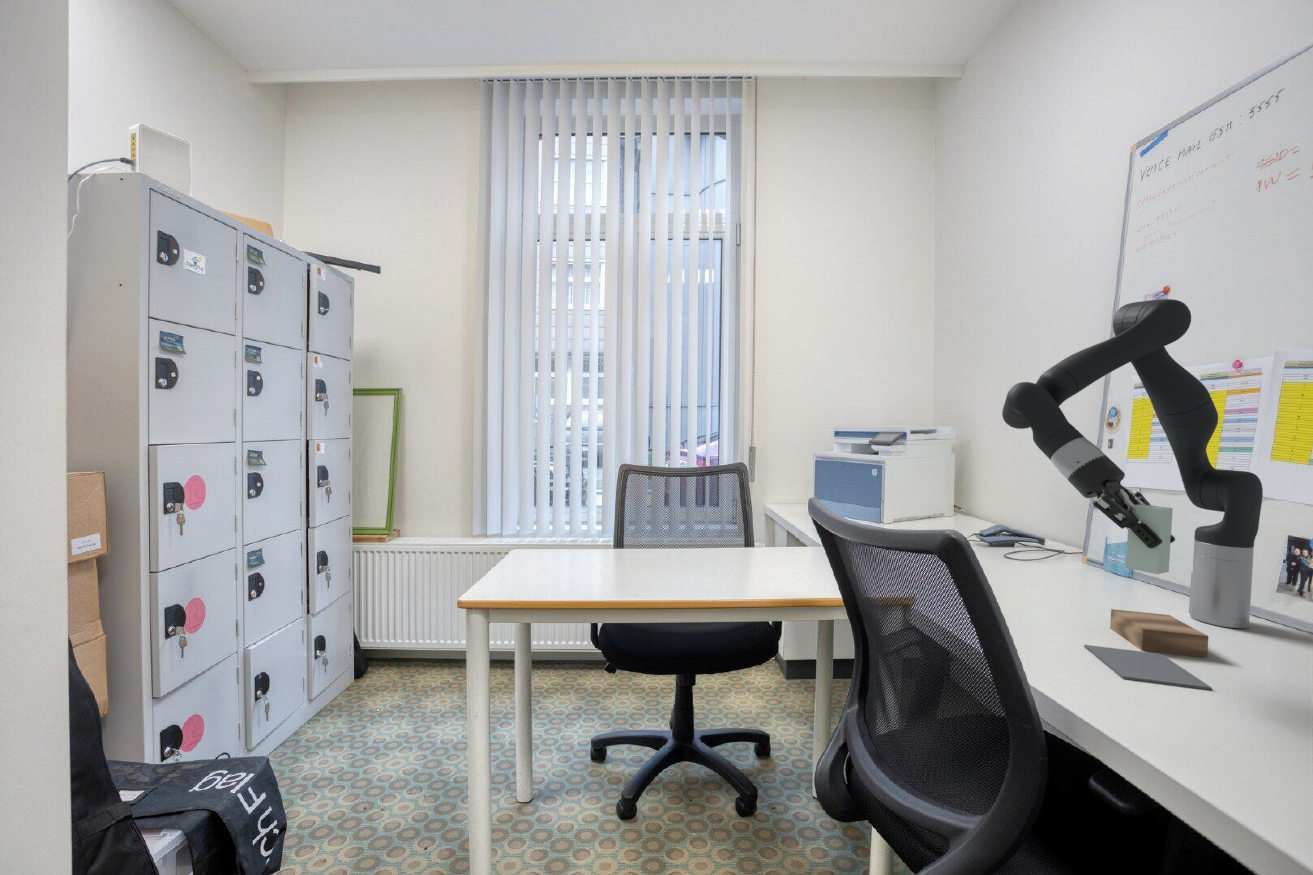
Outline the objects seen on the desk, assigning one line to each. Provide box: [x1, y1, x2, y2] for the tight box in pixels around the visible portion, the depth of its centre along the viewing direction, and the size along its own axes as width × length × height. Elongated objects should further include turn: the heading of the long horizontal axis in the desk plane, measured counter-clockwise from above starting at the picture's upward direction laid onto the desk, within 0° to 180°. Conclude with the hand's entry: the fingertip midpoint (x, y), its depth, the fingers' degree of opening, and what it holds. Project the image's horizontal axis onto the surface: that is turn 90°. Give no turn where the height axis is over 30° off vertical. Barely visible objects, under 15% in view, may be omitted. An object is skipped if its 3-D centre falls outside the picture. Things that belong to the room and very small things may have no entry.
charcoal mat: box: [1083, 644, 1213, 691], centre depth 99 cm, size 14×12×1 cm
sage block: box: [1125, 504, 1174, 575], centre depth 98 cm, size 4×4×11 cm
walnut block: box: [1109, 608, 1209, 659], centre depth 111 cm, size 12×10×4 cm
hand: (1163, 544), depth 97 cm, fingers closed on sage block, 4 cm apart
